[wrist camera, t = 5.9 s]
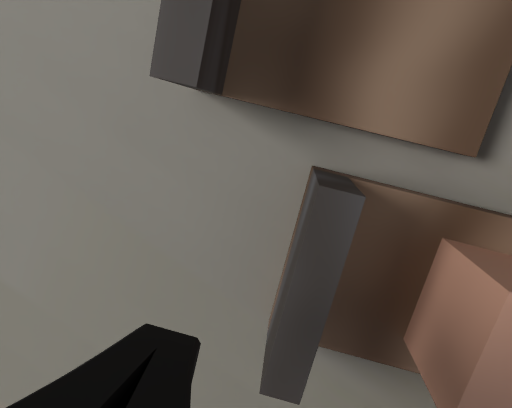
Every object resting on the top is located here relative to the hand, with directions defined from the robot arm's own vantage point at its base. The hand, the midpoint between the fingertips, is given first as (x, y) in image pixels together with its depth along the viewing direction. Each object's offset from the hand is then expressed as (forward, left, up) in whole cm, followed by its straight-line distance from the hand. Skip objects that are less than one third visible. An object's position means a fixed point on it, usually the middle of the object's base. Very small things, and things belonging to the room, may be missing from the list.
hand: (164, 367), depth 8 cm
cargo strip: (-9, 0, -9) cm, 13 cm away
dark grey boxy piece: (-3, -10, -9) cm, 14 cm away
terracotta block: (-11, 0, -8) cm, 14 cm away
